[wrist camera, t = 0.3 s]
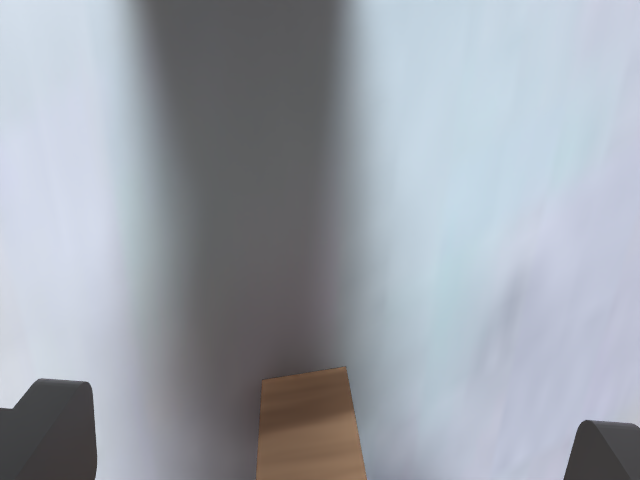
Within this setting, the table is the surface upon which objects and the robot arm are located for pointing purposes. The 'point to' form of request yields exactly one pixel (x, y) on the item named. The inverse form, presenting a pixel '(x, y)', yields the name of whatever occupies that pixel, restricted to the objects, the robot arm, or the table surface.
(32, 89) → the table surface
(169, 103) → the table surface
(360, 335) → the table surface
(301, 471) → the block
